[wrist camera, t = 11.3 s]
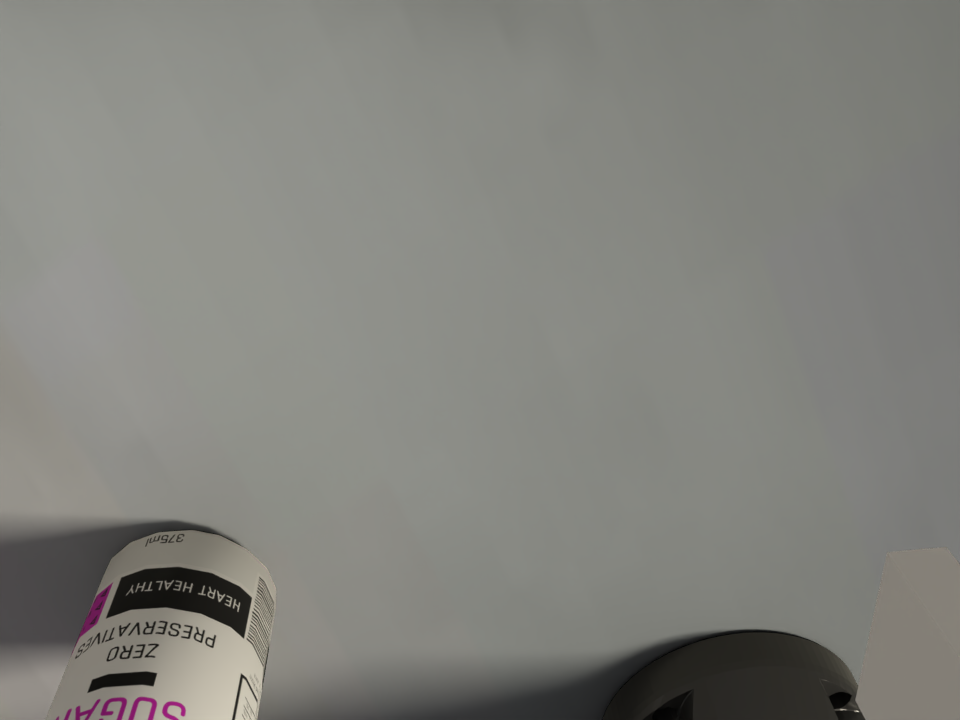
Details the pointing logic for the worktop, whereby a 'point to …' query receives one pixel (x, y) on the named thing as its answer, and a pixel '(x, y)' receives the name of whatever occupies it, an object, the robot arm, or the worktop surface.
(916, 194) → the worktop surface
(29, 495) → the worktop surface
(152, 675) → the supplement can
